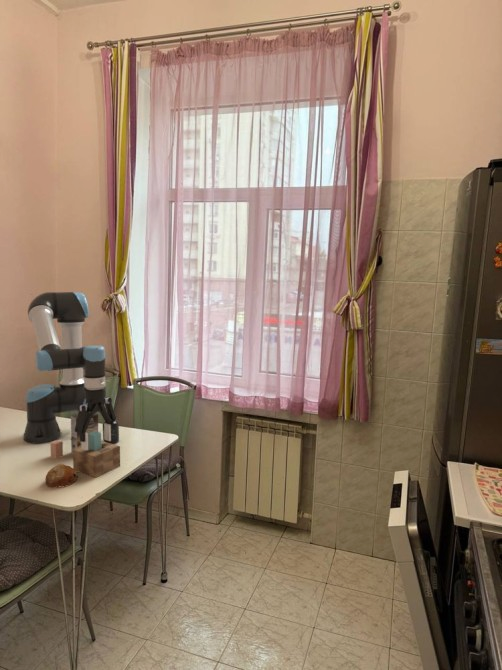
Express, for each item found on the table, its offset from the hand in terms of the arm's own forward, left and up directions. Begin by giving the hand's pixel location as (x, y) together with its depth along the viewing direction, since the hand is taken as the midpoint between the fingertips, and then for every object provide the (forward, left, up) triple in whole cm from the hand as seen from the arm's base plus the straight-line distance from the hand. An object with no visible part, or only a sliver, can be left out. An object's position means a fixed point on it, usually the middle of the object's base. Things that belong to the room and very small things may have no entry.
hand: (96, 444), depth 171 cm
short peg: (-22, -1, -9) cm, 24 cm away
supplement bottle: (-16, +22, -9) cm, 29 cm away
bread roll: (-2, -14, -10) cm, 17 cm away
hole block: (0, 0, -9) cm, 9 cm away
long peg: (0, 0, -9) cm, 9 cm away
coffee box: (-16, +8, -9) cm, 20 cm away
